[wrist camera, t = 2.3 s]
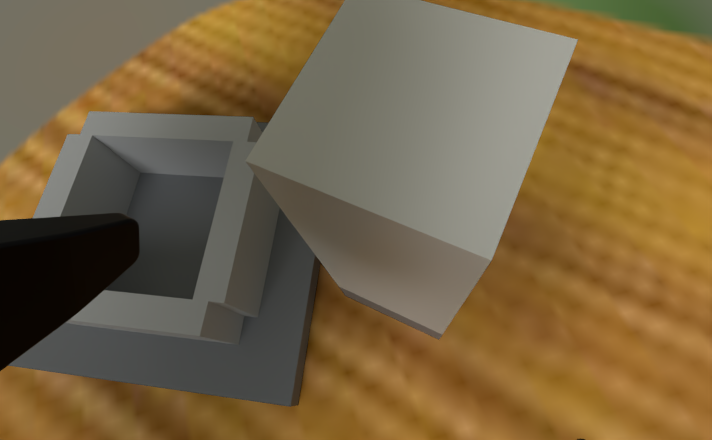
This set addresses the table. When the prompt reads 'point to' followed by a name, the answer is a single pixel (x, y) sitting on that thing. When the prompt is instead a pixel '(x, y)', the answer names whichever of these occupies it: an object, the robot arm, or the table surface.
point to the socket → (184, 261)
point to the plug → (410, 149)
